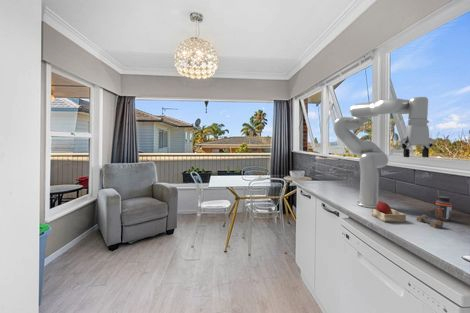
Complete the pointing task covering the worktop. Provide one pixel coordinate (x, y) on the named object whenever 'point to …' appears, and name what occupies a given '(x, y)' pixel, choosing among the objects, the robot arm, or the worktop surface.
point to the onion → (383, 207)
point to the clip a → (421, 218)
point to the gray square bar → (430, 221)
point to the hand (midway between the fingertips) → (415, 157)
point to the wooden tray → (389, 216)
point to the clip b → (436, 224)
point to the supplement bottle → (443, 209)
